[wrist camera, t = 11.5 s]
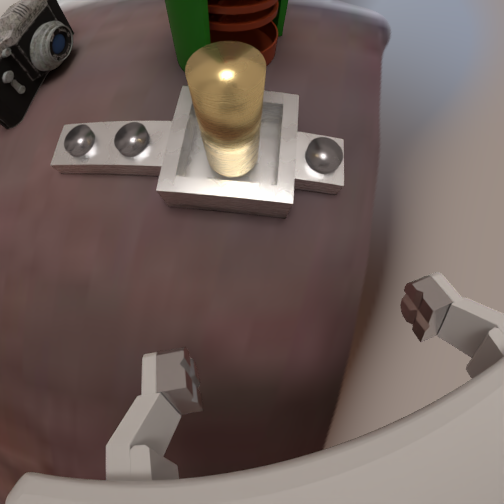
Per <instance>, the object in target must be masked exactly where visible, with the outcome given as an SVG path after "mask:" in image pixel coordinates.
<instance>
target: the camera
mask: <svg viewBox="0 0 504 504" xmlns="http://www.w3.org/2000/svg"><path fill="white" fill-rule="evenodd" d="M73 35H74V32H73V30H72V28H71V27H70V25H69V23H68V21H67V19H66V17H65V16H64V14H63V12H62V10H61V8H60V6H59V4H58V2H57V0H21V1H19V2H17V3H15V4H13V5H12V6H10V8H9V9H8V10H7V11H6V12H5V13H4V14H3V15H2V17H1V18H0V124H1V125H2V126H3V127H5V128H6V129H8V128H13V127H15V126H17V125H18V124H19V123H20V122H21V121H22V120H23V119H24V116H25V114H26V112H27V110H28V108H29V106H30V104H31V102H32V101H33V99H34V97H35V95H36V93H37V91H38V90H39V88H40V86H41V84H42V83H43V81H44V79H45V77H46V76H47V74H48V72H49V71H51V70H53V69H55V68H57V67H58V66H59V65H60V64H61V63H62V62H63V61H64V59H66V58H67V57H68V55H69V54H70V52H71V49H72V45H73Z"/></svg>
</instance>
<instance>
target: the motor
mask: <svg viewBox="0 0 504 504" xmlns="http://www.w3.org/2000/svg"><path fill="white" fill-rule="evenodd" d="M165 3H166V8H167V13H168V18H169V23H170V28H171V32H172V37H173V42H174V46H175V51H176V55H177V60H178V63H179V65H180V67H181V68H182V70H183V71H184V72H185V67H186V64H187V61H188V60H189V58H190V57H191V56H192V54H193V53H195V52H196V51H197V50H198V49H200V48H202V47H204V46H206V45H208V44H211V43H215V42H220V41H237V42H242V43H246V44H248V45H251V46H253V47H254V48H256V49H257V50H258V51H259V52H260V53H261V54H262V55H263V57H264V59H265V61H266V66H267V65H268V64H269V63H270V62H271V61H272V60H273V58H274V55H275V51H276V44H277V38H278V36H282V32H283V26H284V20H285V15H286V9H287V4H288V0H165Z"/></svg>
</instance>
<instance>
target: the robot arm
mask: <svg viewBox="0 0 504 504" xmlns="http://www.w3.org/2000/svg"><path fill="white" fill-rule="evenodd" d="M404 291H405V293H406V294H405V296H404V297H403V298H402V301H401V312H402V314H403V316H404V318H405V320H406V321H407V322H409V323H411V324H413V328H412V330H413V332H414V333H415V335H416V336H417V338H418V339H419V341H420V342H422V341H425V340H427V339H429V338H432V337H434V336H436V335H437V336H438V337H439V338H441V339H443V340H444V341H446V342H448V343H449V344H451V345H452V346H454V347H456V348H457V349H459V350H460V351H462V352H463V353H465V354H467V355H468V356H470V357H471V358H472V359H471V360H470V362H469V363H468V365H467V367H466V370H467V372H468V373H469V375H470V377H471V378H472V379H471V380H470V381H468V382H466V383H465V384H463V385H462V386H460V387H458V388H457V389H455V390H454V391H452V392H450V393H448V394H447V395H445V396H443V397H442V398H440V399H438V400H437V401H434V402H433V403H431V404H429V405H427V406H425V407H423V408H422V409H419V410H418V411H416V412H414V413H412V414H410V415H408V416H406V417H403V418H401V419H399V420H397V421H395V422H393V423H391V424H388V425H386V426H384V427H382V428H380V429H378V430H375V431H373V432H370V433H368V434H365V435H363V436H360V437H358V438H355V439H353V440H350V441H347V442H344V443H341V444H339V445H336V446H333V447H330V448H327V449H324V450H321V451H318V452H314V453H311V454H308V455H304V456H301V457H298V458H294V459H290V460H286V461H283V462H279V463H274V464H270V465H266V466H261V467H257V468H252V469H247V470H242V471H236V472H230V473H224V474H217V475H210V476H202V477H194V478H183V479H179V473H178V466H177V465H176V464H175V463H173V462H171V461H170V460H168V459H166V458H165V457H163V456H164V454H165V452H166V449H167V447H168V445H169V443H170V440H171V438H172V436H173V434H174V432H175V429H176V427H177V425H178V423H179V420H180V418H181V415H183V414H189V413H194V412H199V411H204V410H203V402H202V394H201V393H200V391H199V390H198V387H199V385H200V378H199V373H198V369H197V366H196V364H195V362H194V360H193V359H191V358H190V355H189V351H188V349H187V348H186V347H183V348H177V349H171V350H165V351H159V352H154V353H148V354H144V356H143V358H142V385H141V395H139V396H137V398H136V399H135V401H134V402H133V404H132V405H131V407H130V408H129V410H128V412H127V413H126V415H125V416H124V418H123V419H122V421H121V423H120V424H119V426H118V427H117V429H116V430H115V432H114V434H113V435H112V437H111V438H110V440H109V442H108V443H107V445H106V480H91V479H79V478H69V477H61V476H53V475H47V474H41V473H36V472H27V473H25V474H24V475H23V476H22V477H21V478H20V479H19V480H18V482H17V483H16V484H15V486H14V487H13V489H12V490H11V491H10V493H9V494H8V496H7V499H6V502H5V504H504V314H503V313H501V312H498V311H496V310H494V309H492V308H490V307H487V306H485V305H483V304H480V303H478V302H476V301H474V300H471V299H469V298H467V297H464V298H462V296H461V295H460V294H459V293H458V292H457V291H456V290H455V288H454V287H453V286H452V285H451V284H450V283H449V282H448V281H447V279H446V278H445V277H444V276H443V275H442V274H441V273H439V272H435V273H433V274H430V275H428V276H424V277H422V278H419V279H417V280H414V281H412V282H409V283H407V284H406V286H405V289H404Z"/></svg>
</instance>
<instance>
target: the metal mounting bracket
mask: <svg viewBox="0 0 504 504" xmlns="http://www.w3.org/2000/svg"><path fill="white" fill-rule="evenodd" d="M298 104H299V95H294V94H287V93H280V92H272V91H264V96H263V107H262V118H261V129H260V140H259V151H258V159H257V162H256V164H255V166H254V167H253V168H252V169H251V170H250V171H249V172H247V173H246V174H244V175H241V176H237V177H226V176H222V175H220V174H218V173H217V172H215V171H214V170H213V169H212V168H211V167H210V165H209V163H208V160H207V156H206V152H205V148H204V145H203V141H202V137H201V133H200V129H199V125H198V122H197V118H196V114H195V110H194V106H193V102H192V98H191V94H190V90H189V86H182V90H181V93H180V96H179V100H178V103H177V107H176V110H175V114H174V118H173V121H115V122H95V123H81V124H69V125H64V127H63V130H62V133H61V135H60V138H59V141H58V144H57V147H56V150H55V152H54V155H53V159H52V162H51V166H52V167H54V168H55V169H56V170H57V171H59V172H60V173H61V174H122V175H146V176H159V180H158V185H157V190H156V191H157V192H158V193H159V195H160V196H161V197H162V199H163V200H164V201H165V203H166V204H167V205H168V207H180V208H191V209H202V210H213V211H223V212H233V213H242V214H252V215H261V216H269V217H278V218H286V216H287V214H288V212H289V210H290V209H291V207H292V205H293V196H294V189H299V190H306V191H314V192H321V193H327V194H334V195H336V194H337V193H338V192H339V191H340V190H341V189H342V187H343V186H344V145H343V139H339V138H333V137H328V136H322V135H316V134H310V133H303V132H297V127H298Z"/></svg>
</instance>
